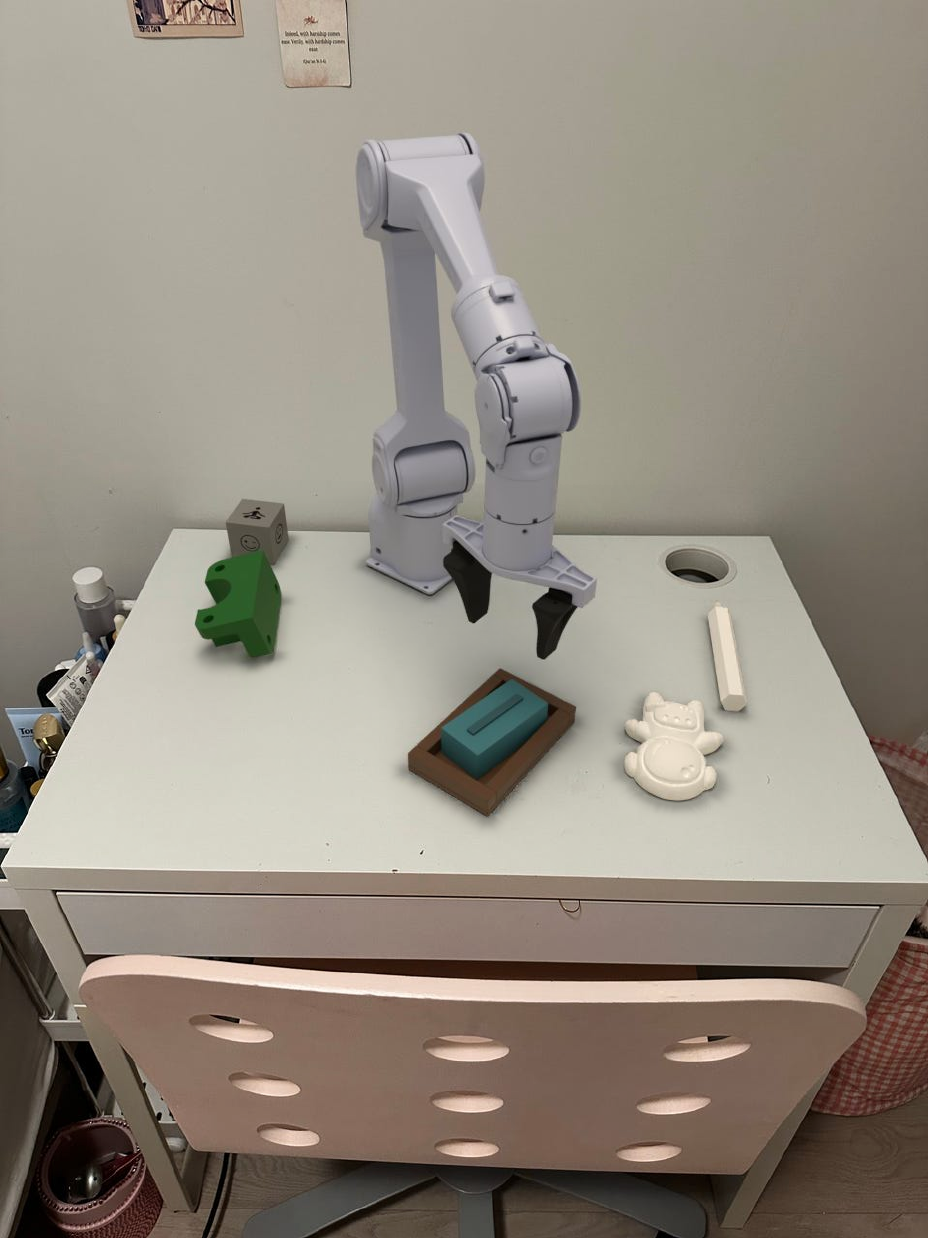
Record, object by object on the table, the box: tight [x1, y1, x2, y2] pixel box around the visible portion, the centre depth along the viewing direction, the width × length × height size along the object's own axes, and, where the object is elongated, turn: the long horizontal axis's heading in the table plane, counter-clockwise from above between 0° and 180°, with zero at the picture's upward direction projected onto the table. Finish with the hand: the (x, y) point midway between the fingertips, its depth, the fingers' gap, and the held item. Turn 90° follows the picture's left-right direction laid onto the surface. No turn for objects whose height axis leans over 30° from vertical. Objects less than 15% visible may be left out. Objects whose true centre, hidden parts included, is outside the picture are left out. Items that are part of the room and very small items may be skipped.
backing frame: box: [407, 668, 577, 817], centre depth 83 cm, size 14×9×2 cm, turn 143°
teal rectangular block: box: [441, 679, 548, 780], centre depth 83 cm, size 9×4×4 cm, turn 135°
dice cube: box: [225, 498, 290, 565], centre depth 106 cm, size 5×5×5 cm
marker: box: [707, 599, 748, 712], centre depth 93 cm, size 3×2×16 cm
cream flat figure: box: [623, 691, 724, 801], centre depth 83 cm, size 9×12×3 cm
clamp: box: [194, 550, 282, 659], centre depth 94 cm, size 12×6×9 cm, turn 178°
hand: (511, 634), depth 83 cm, fingers open, 7 cm apart
